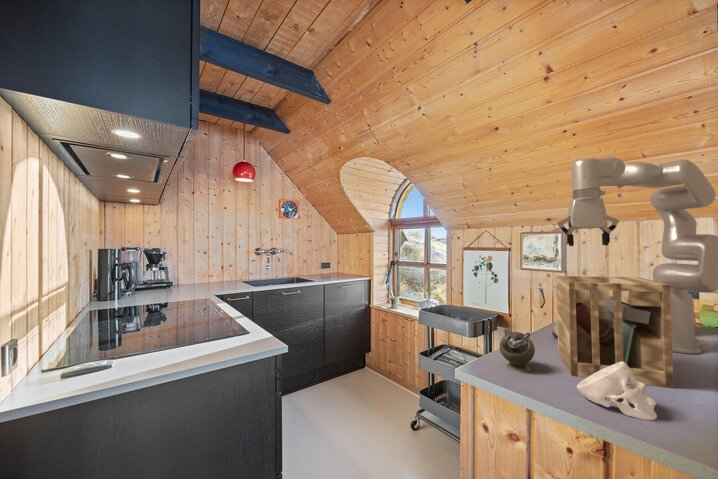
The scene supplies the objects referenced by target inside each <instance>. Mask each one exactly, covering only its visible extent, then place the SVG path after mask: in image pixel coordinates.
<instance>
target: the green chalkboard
mask: <svg viewBox="0 0 718 479" xmlns="http://www.w3.org/2000/svg"><path fill="white" fill-rule="evenodd" d="M605 309H607V310H608V311H610V312H612V313H613V315H614V309H613V299H609V298H607V299H606V304H605ZM650 313H651V312H650V311H647V310H645V309H643V308H641V307H638V306H636V305H629V304H627V303H625V302H622V328H623V360H624V362H625V363H626V364H627V362H628V357H629V351H630V346H631V341H632V336H633V331H634V328H636V327H637V326H636V325H634V324H633V323H631V322H629V321H634V322H639V323H645V324H649V318H650ZM627 320H629V321H627ZM612 329H613V330H614V320H613V326H612ZM607 357H608V358H610V359H611V360H612V361H613V362H614V363H615V344H614V345H612V346H610V347H608V352H607Z"/></svg>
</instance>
